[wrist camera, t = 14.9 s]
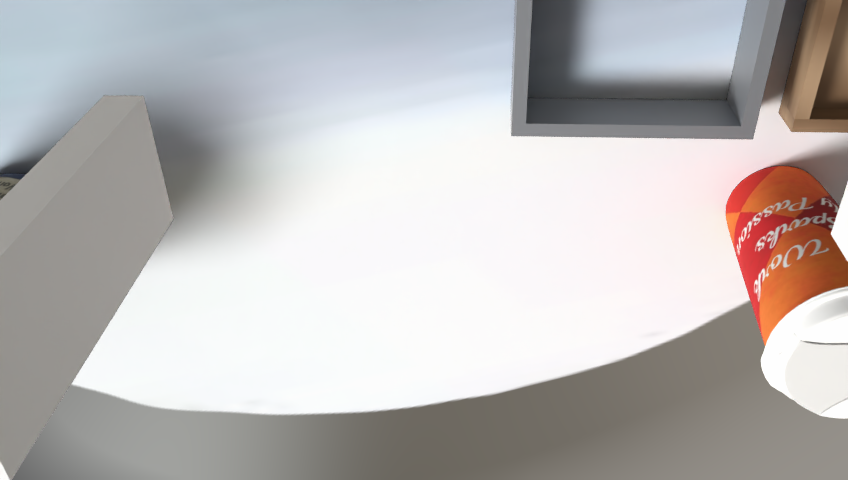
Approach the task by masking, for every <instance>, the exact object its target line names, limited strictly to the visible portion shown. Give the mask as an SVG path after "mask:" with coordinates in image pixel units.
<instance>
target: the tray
mask: <svg viewBox="0 0 848 480" xmlns="http://www.w3.org/2000/svg"><path fill="white" fill-rule="evenodd" d="M779 114H780V116H781V117H782V119H783V120H784V122H785V123H786V125H787V126H788V128H789V129H790V131H791V132H844V133H848V0H807V3H806V7H805V11H804V15H803V19H802V23H801V26H800V30H799V34H798V38H797V42H796V46H795V50H794V54H793V58H792V62H791V66H790V70H789V74H788V78H787V82H786V86H785V90H784V94H783V98H782V102H781V106H780V110H779Z"/></svg>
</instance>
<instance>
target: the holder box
mask: <svg viewBox="0 0 848 480" xmlns="http://www.w3.org/2000/svg"><path fill="white" fill-rule="evenodd" d="M785 2H786V0H747V4H746V9H745V14H744V19H743V24H742V28H741V33H740V38H739V43H738V47H737V52H736V57H735V62H734V67H733V71H732V76H731V81H730V86H729V90H728V95H727V100H674V99H572V98H527V94H528V75H529V57H530V38H531V19H532V0H515V16H514V41H513V65H512V90H511V136H549V137H622V138H695V139H753V137H754V133H755V128H756V124H757V120H758V116H759V111H760V107H761V103H762V99H763V95H764V90H765V86H766V82H767V78H768V73H769V69H770V65H771V61H772V57H773V52H774V48H775V44H776V40H777V36H778V31H779V27H780V23H781V19H782V14H783V10H784V6H785Z"/></svg>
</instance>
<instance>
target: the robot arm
mask: <svg viewBox="0 0 848 480" xmlns="http://www.w3.org/2000/svg"><path fill="white" fill-rule="evenodd" d="M173 220H174V218H173V214H172V210H171V206H170V201H169V197H168V193H167V189H166V185H165V181H164V177H163V173H162V169H161V165H160V161H159V157H158V153H157V149H156V144H155V140H154V136H153V132H152V128H151V124H150V120H149V116H148V112H147V108H146V104H145V100H144V96H109V95H104V96H103V97H102V98H101V99H100V100H99V101H98V102H97V103H96V104H95V105H94V106H93V107H92V108H91V109H90V110H89V111H88V112H87V113H86V114H85V115H84V116H83V117H82V118H81V119H80V120H79V121H78V122H77V123H76V124H75V125H74V126H73V127H72V128H71V129H70V130H69V131H68V133H67V134H66V135H65V136H64V137H63V138H62V139H61V140H60V141H59V142H58V143H57V144H56V145H55V146H54V147H53V148H52V149H51V150H50V151H49V152H48V153H47V154H46V155H45V156H44V157H43V158H42V159H41V160H40V161H39V162H38V163H37V164H36V165H35V166H34V167H33V168H32V169H31V170H30V171H29V172H28V173H27V174H26V175H25V176H24V177H23V178H22V179H21V180H20V181H19V182H18V183H17V184H16V185H15V186H14V187H13V188H12V189H11V190H10V191H9V192H8V193H7V194H6V195H5V196H4V197H3V198H2V199H1V200H0V480H12V478H13V477H14V475H15V473H16V472H17V470H18V469H19V467H20V465H21V464H22V462H23V461H24V459H25V457H26V456H27V454H28V453H29V451H30V449H31V448H32V446H33V444H34V443H35V441H36V440H37V438H38V436H39V435H40V433H41V432H42V430H43V428H44V427H45V425H46V423H47V422H48V420H49V419H50V417H51V416H52V414H53V412H54V411H55V409H56V408H57V406H58V404H59V403H60V401H61V399H62V398H63V396H64V395H65V393H66V392H67V390H68V388H69V387H70V385H71V384H72V382H73V380H74V379H75V377H76V375H77V374H78V372H79V371H80V369H81V367H82V366H83V364H84V363H85V361H86V359H87V358H88V356H89V355H90V353H91V351H92V350H93V348H94V347H95V345H96V343H97V342H98V340H99V339H100V337H101V335H102V334H103V332H104V331H105V329H106V327H107V326H108V324H109V322H110V321H111V319H112V318H113V316H114V314H115V313H116V311H117V310H118V308H119V306H120V305H121V303H122V302H123V300H124V298H125V297H126V295H127V294H128V292H129V290H130V289H131V287H132V286H133V284H134V282H135V281H136V279H137V278H138V276H139V274H140V273H141V271H142V269H143V268H144V266H145V265H146V263H147V261H148V260H149V258H150V257H151V255H152V253H153V252H154V250H155V249H156V247H157V245H158V244H159V242H160V241H161V239H162V237H163V236H164V234H165V233H166V231H167V229H168V228H169V226H170V225H171V223H172V221H173ZM831 235H832V237H833V239H834V240H835V242H836V243H837V245H838V247H839V248H840V250H841V252H842V253H843V255H844V256H845V258H846V260H847V261H848V182H847V186H846V189H845V192H844V195H843V198H842V201H841V204H840V207H839V210H838V213H837V216H836V219H835V223H834V226H833V229H832V232H831Z"/></svg>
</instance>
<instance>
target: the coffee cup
mask: <svg viewBox="0 0 848 480" xmlns="http://www.w3.org/2000/svg"><path fill="white" fill-rule="evenodd" d="M838 210H839V205H838V204H837V203H836V202H835V201H834V199H833V198H832V197H831V196H830V195H829V193H828V192H827V191H826V190H825V189H824V188H823V186H822V185H821V184H820V183H819V182H818V181H817V180H816V179H815V178H814V177H813V176H812V175H810V174H809V173H807V172H806V171H804V170H802V169H799V168H796V167H791V166H774V167H769V168H765V169H762V170H759V171H757V172H755V173H753V174H751V175H749V176H748V177H746V178H745V179H744V180H742V181H741V182H740V183H739V184H738V185H737V186H736V187H735V189H734V190H733V191H732V193H731V195H730V196H729V199H728V201H727V205H726V220H727V224H728V229H729V232H730V236H731V239H732V243H733V246H734V249H735V252H736V256H737V259H738V262H739V265H740V269H741V272H742V275H743V278H744V281H745V285H746V288H747V291H748V294H749V297H750V300H751V303H752V306H753V310H754V313H755V316H756V319H757V322H758V325H759V328H760V332H761V335H762V338H763V341H764V344H765V350H764V353H763V355H762V358H761V366H762V370H763V373H764V375H765V377H766V379H767V381H768V382H769V383H770V385H771V386H773V387H774V388H776V389H778V390H779V391H781V392H783V393H784V394H785V395H786V396H788V397H789V398H790V399H794V400H795V401H796V402H797V403H798V404H799V405H801V406H803V407H804V408H806V409H808V410H810V411H812V412H814V413H816V414H818V415H821V416H826V417H832V418H848V261H847V260H846V258H845V256H844V255H843V253H842V252H841V250H840V248H839V247H838V245H837V243H836V242H835V240H834V239H833V237H832V235H831V232H832V229H833V226H834V223H835V219H836V216H837V213H838Z"/></svg>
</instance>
